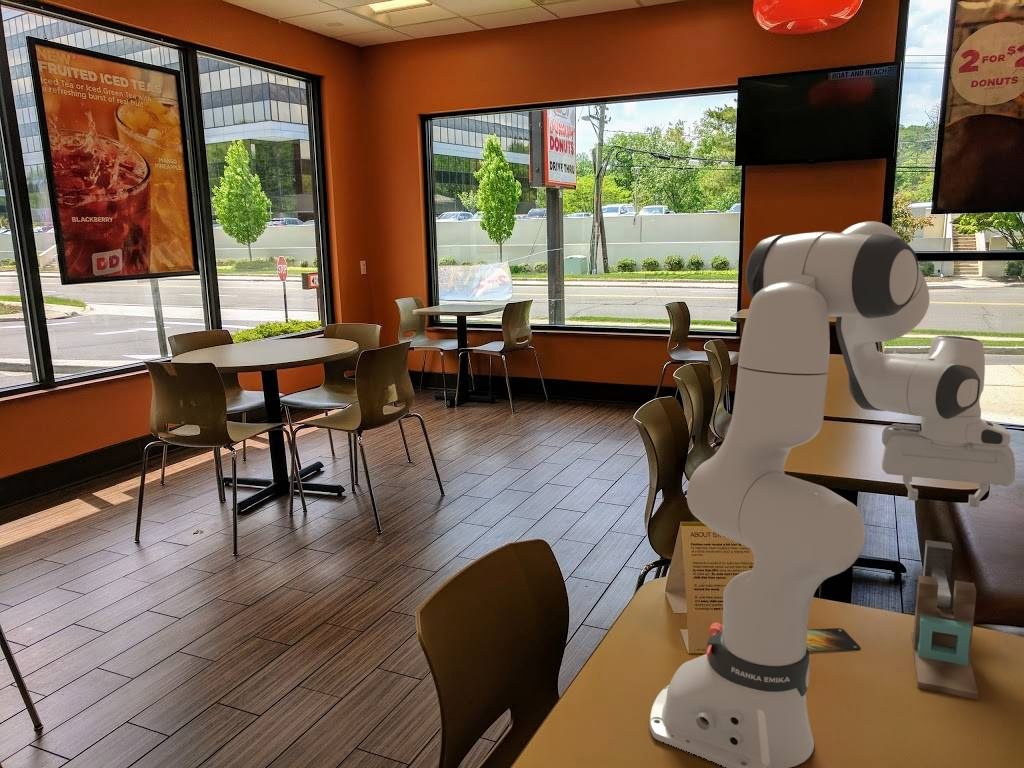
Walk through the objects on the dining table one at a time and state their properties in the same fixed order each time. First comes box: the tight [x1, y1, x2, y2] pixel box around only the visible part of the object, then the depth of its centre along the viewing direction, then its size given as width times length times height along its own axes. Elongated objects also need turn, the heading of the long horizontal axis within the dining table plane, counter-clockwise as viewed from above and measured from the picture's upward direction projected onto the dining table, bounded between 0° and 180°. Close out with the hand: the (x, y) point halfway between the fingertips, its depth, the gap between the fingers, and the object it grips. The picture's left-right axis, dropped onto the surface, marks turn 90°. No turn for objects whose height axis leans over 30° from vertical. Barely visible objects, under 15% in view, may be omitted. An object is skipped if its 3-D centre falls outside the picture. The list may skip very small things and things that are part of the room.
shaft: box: [922, 539, 954, 609], centre depth 128 cm, size 4×14×7 cm, turn 155°
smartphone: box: [806, 627, 862, 654], centre depth 128 cm, size 7×1×15 cm
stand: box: [910, 574, 979, 701], centre depth 118 cm, size 8×16×13 cm, turn 155°
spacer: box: [917, 615, 971, 666], centre depth 120 cm, size 7×2×6 cm, turn 65°
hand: (942, 502), depth 131 cm, fingers open, 8 cm apart
